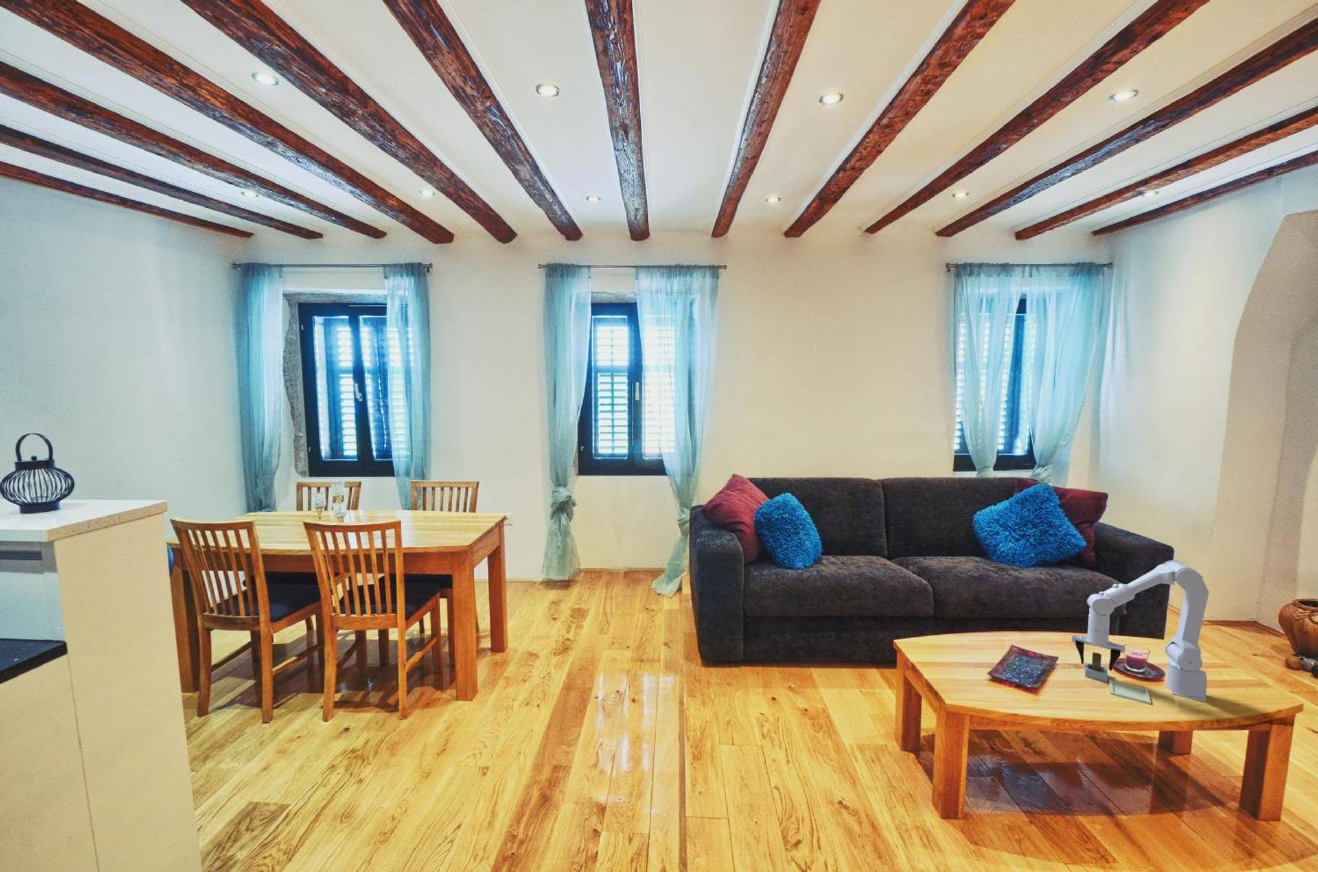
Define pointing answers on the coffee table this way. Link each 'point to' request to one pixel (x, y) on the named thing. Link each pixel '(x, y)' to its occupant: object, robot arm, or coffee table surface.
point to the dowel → (1096, 661)
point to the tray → (1129, 692)
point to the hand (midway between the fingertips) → (1096, 666)
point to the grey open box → (1096, 673)
